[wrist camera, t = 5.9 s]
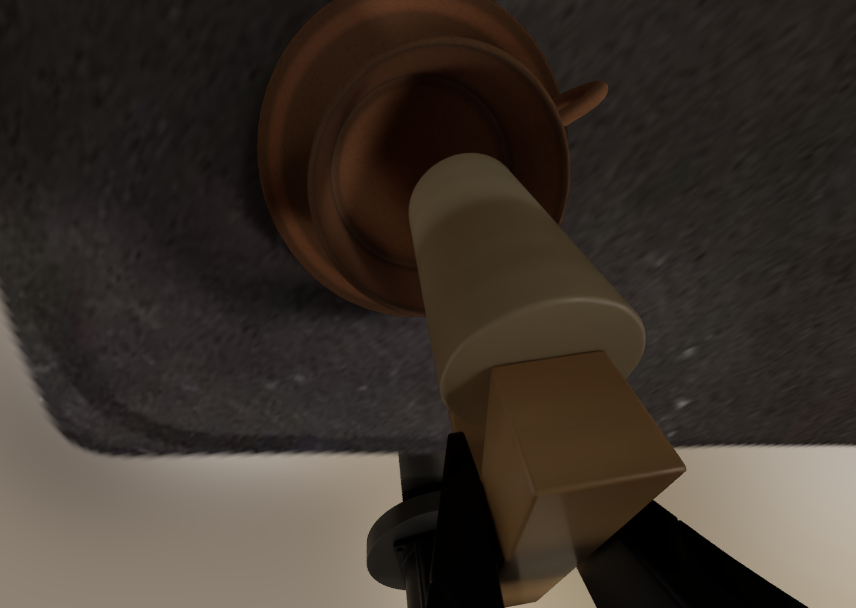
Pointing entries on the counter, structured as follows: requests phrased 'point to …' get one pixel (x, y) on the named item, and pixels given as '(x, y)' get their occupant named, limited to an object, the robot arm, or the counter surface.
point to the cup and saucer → (402, 131)
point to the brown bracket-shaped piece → (533, 372)
